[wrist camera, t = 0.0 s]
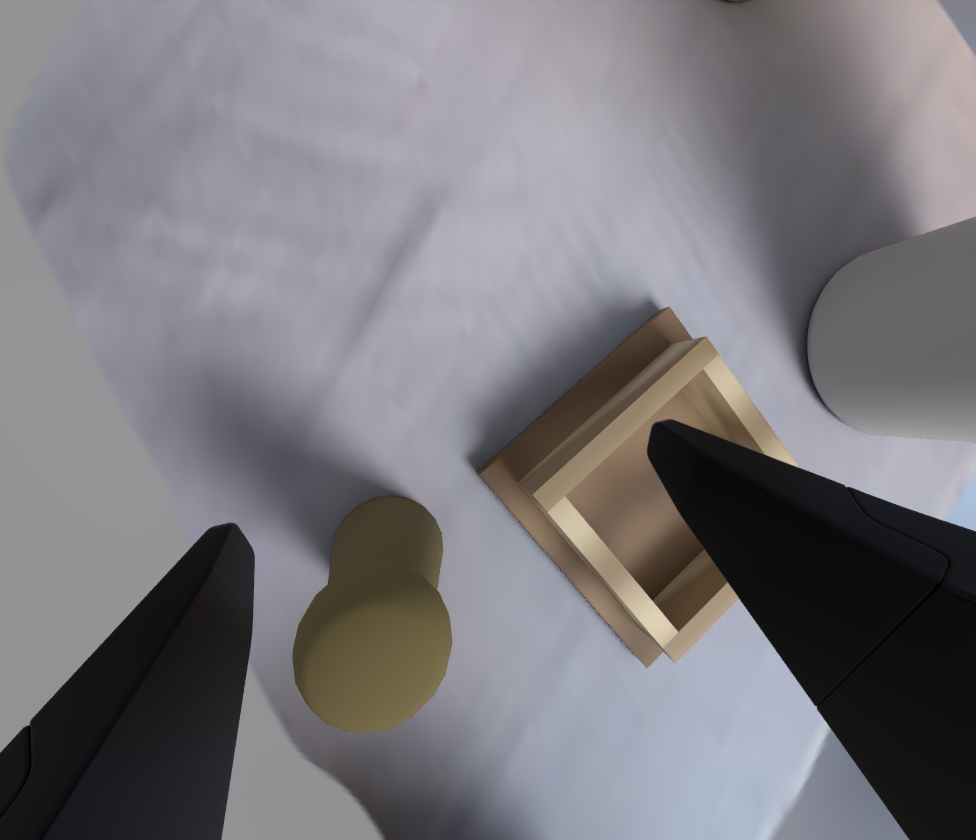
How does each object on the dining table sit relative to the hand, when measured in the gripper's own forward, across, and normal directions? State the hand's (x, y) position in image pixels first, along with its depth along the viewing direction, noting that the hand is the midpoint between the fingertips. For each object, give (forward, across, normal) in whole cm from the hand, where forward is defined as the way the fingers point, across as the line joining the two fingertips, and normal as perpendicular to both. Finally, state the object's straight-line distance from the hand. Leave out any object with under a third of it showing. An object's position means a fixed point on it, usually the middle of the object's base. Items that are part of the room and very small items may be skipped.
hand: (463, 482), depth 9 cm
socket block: (+9, -12, +13) cm, 20 cm away
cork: (+10, +4, +13) cm, 17 cm away
